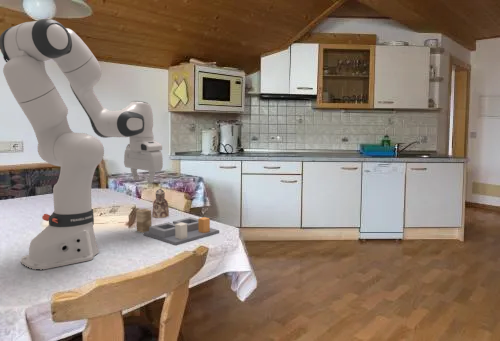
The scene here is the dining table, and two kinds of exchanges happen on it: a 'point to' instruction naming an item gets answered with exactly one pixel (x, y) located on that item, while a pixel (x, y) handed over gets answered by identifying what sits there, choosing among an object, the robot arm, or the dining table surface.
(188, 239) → the socket board
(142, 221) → the wood plug
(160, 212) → the figurine
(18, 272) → the dining table surface
